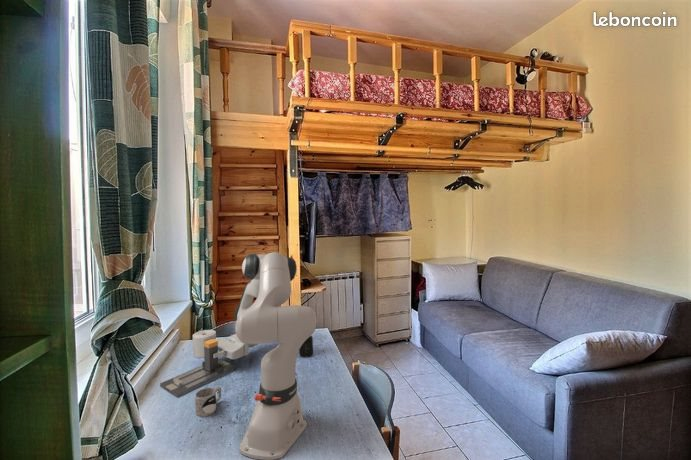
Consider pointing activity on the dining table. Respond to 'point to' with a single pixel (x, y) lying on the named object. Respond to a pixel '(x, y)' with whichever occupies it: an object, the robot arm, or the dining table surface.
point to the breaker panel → (196, 378)
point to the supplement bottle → (307, 348)
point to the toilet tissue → (201, 341)
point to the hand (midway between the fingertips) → (209, 354)
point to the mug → (206, 401)
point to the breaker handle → (210, 354)
